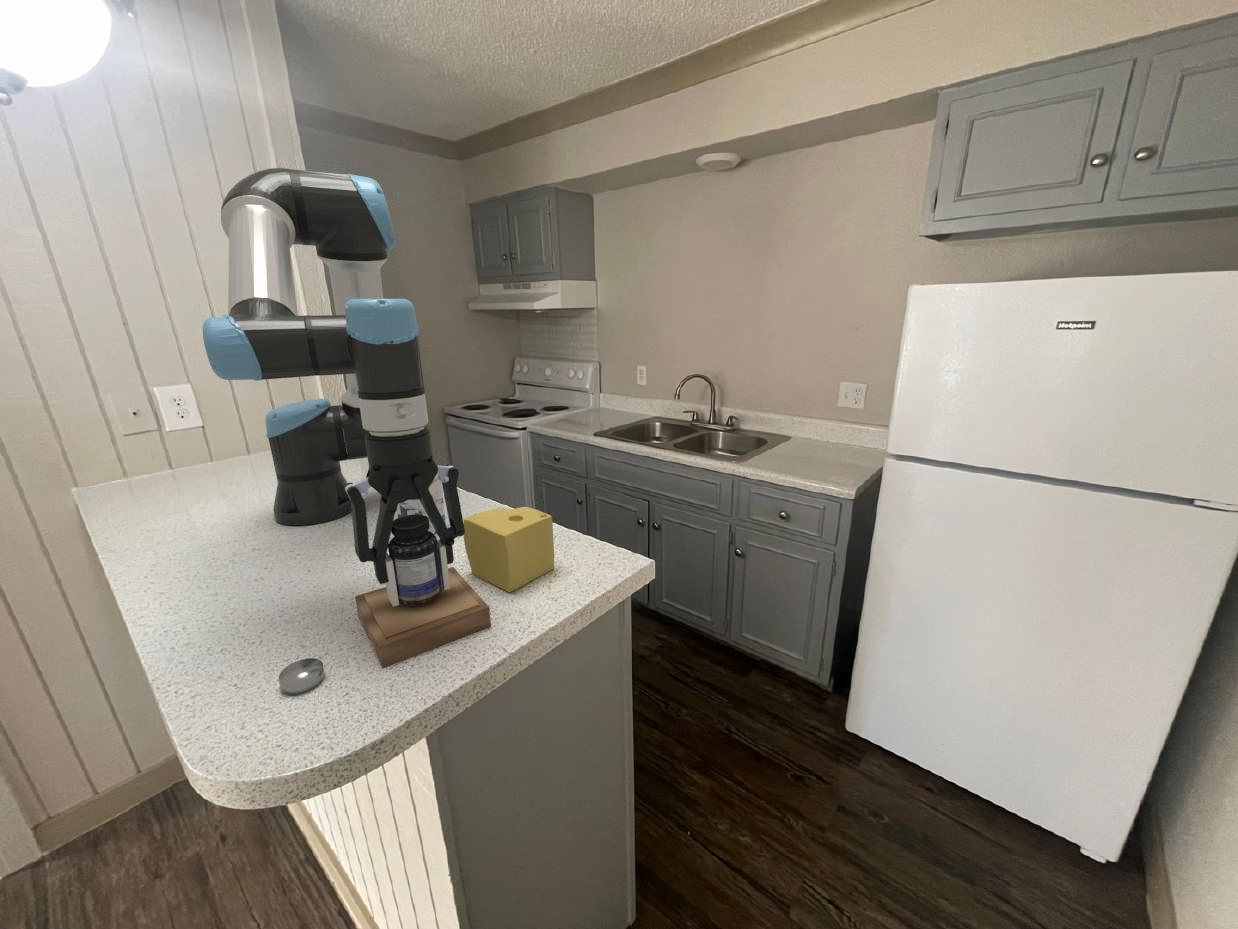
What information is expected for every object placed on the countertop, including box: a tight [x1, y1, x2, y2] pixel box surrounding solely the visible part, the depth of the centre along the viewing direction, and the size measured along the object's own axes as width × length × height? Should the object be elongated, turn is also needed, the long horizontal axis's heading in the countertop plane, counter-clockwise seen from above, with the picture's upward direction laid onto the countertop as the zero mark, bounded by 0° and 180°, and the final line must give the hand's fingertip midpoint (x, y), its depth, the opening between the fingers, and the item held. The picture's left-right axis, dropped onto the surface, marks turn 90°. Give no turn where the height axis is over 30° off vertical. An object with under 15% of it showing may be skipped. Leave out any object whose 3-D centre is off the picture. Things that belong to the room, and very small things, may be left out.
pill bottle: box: [387, 514, 442, 605], centre depth 69 cm, size 6×6×11 cm
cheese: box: [463, 506, 555, 593], centre depth 83 cm, size 10×11×10 cm
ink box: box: [396, 474, 447, 535], centre depth 98 cm, size 9×5×12 cm, turn 168°
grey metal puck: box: [278, 657, 326, 697], centre depth 60 cm, size 4×4×2 cm
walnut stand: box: [354, 566, 492, 668], centre depth 71 cm, size 14×14×3 cm
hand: (419, 592), depth 71 cm, fingers closed on pill bottle, 6 cm apart
